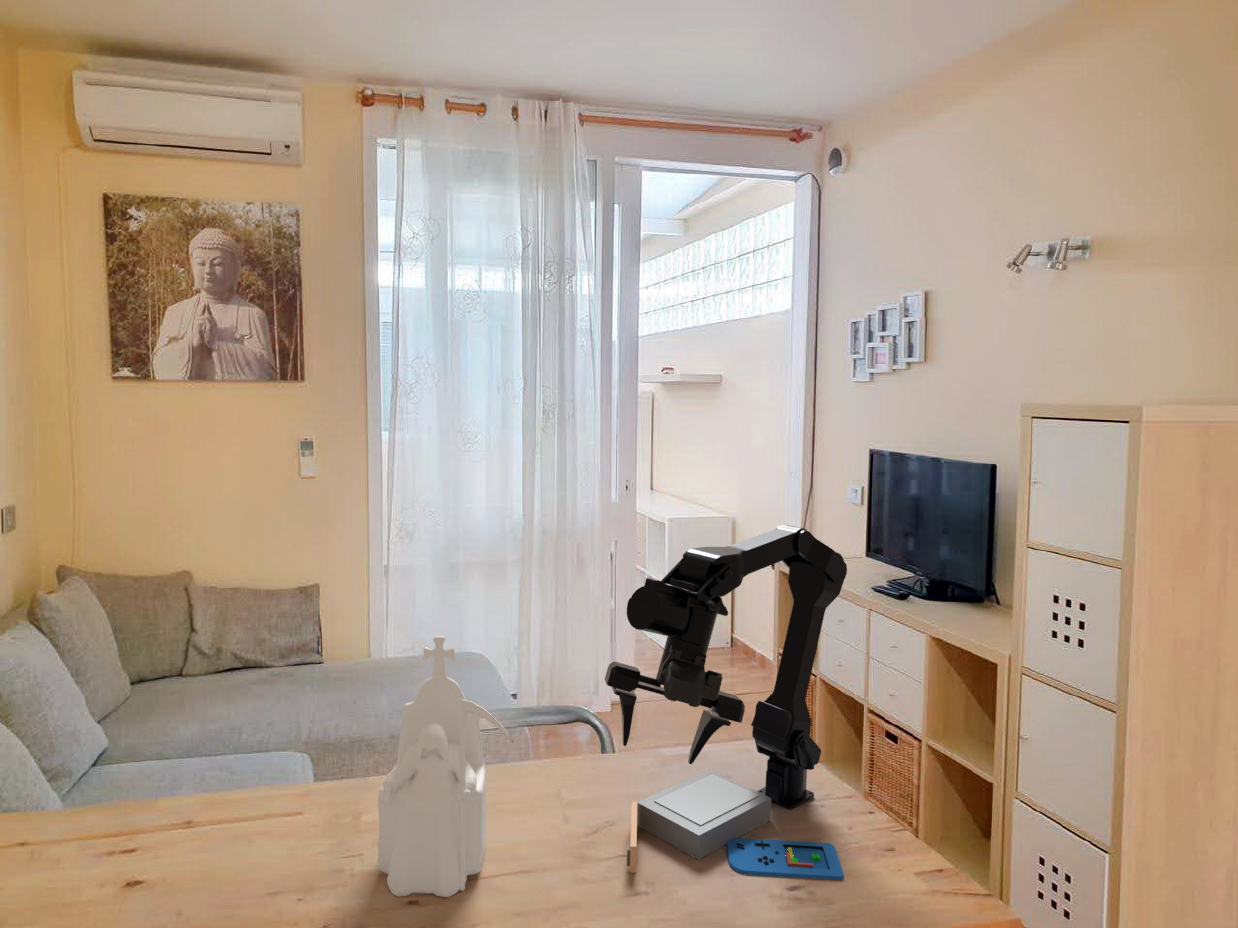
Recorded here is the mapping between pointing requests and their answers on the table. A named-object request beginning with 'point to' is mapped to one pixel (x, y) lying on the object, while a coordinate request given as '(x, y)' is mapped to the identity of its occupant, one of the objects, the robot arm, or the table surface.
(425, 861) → the religious statue
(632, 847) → the case door
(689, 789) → the case
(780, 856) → the handheld gaming device
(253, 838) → the table surface
